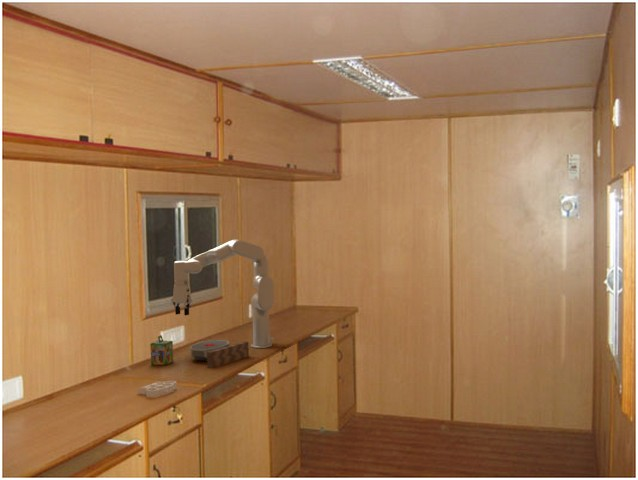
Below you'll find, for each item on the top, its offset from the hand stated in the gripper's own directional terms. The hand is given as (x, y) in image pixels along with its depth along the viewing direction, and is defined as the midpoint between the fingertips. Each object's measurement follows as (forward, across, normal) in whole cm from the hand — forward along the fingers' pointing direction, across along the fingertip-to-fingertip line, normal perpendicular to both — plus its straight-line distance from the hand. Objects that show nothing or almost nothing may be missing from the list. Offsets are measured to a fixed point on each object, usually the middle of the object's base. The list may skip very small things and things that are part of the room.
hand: (182, 314), depth 387 cm
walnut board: (+23, -35, +2) cm, 42 cm away
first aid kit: (+23, -20, 0) cm, 30 cm away
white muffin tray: (+23, -46, +63) cm, 81 cm away
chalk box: (+23, -6, +22) cm, 32 cm away
